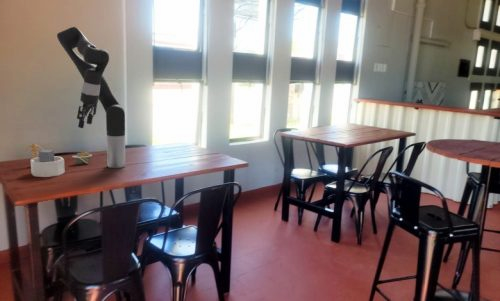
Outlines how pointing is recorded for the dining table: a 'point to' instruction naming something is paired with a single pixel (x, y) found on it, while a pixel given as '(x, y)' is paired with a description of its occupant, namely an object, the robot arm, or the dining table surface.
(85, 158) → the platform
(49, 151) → the grey tall block
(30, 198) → the dining table surface
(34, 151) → the figurine
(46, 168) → the white round bowl
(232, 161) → the dining table surface
